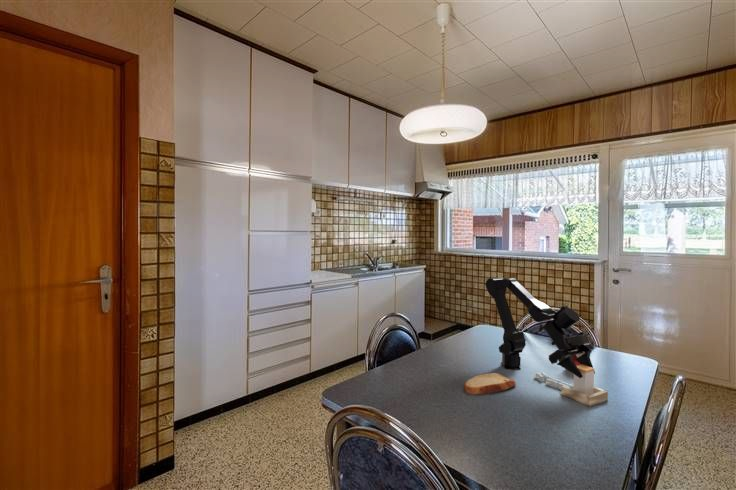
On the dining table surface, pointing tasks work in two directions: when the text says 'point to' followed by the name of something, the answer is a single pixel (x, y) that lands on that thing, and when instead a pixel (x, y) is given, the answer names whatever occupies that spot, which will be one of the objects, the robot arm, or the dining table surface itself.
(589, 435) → the dining table surface
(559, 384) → the clip
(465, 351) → the dining table surface
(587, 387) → the orange-topped block
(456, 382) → the dining table surface
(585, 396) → the holder
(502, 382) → the bread slice
